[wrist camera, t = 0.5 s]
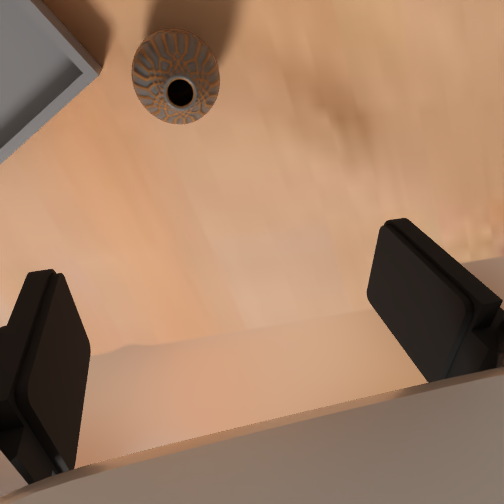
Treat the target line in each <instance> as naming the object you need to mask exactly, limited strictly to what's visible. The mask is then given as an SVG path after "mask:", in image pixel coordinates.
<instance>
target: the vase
mask: <svg viewBox="0 0 504 504" xmlns="http://www.w3.org/2000/svg"><path fill="white" fill-rule="evenodd" d="M132 81H133V86H134V89H135V92H136V94H137V96H138V98H139V100H140V102H141V103H142V105H143V106H144V107H145V108H146V109H147V110H148V111H149V112H150V113H151V114H152V115H154V116H155V117H157V118H158V119H160V120H162V121H164V122H167V123H172V124H188V123H191V122H194V121H196V120H198V119H200V118H202V117H203V116H204V115H205V114H206V113H207V112H208V111H209V110H210V109H211V108H212V106H213V105H214V103H215V101H216V98H217V96H218V92H219V86H220V74H219V69H218V65H217V62H216V59H215V57H214V55H213V54H212V52H211V50H210V49H209V47H208V46H207V45H206V44H205V43H204V42H203V41H202V40H201V39H200V38H198V37H197V36H195V35H194V34H192V33H190V32H188V31H185V30H181V29H175V28H169V29H163V30H159V31H157V32H155V33H153V34H151V35H149V36H148V37H147V38H146V39H145V40H144V41H143V42H142V43H141V44H140V46H139V47H138V49H137V51H136V53H135V56H134V59H133V63H132Z"/></svg>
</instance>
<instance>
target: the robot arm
mask: <svg viewBox="0 0 504 504" xmlns="http://www.w3.org/2000/svg"><path fill="white" fill-rule="evenodd" d="M367 297H368V300H369V302H370V304H371V305H372V306H373V308H374V309H375V310H376V312H377V313H378V315H379V316H380V317H381V319H382V320H383V321H384V323H385V324H386V325H387V327H388V328H389V330H390V331H391V332H392V334H393V335H394V336H395V338H396V339H397V340H398V342H399V343H400V345H401V346H402V347H403V349H404V350H405V351H406V353H407V354H408V356H409V357H410V358H411V360H412V361H413V362H414V364H415V365H416V366H417V368H418V369H419V371H420V372H421V373H422V374H423V376H424V377H425V379H426V380H427V381H428V382H429V383H426V384H421V385H417V386H413V387H409V388H404V389H400V390H395V391H391V392H387V393H382V394H378V395H374V396H369V397H365V398H361V399H356V400H353V401H348V402H344V403H339V404H335V405H331V406H327V407H323V408H318V409H314V410H310V411H306V412H302V413H297V414H293V415H289V416H285V417H280V418H276V419H272V420H268V421H263V422H259V423H255V424H251V425H247V426H243V427H238V428H234V429H230V430H226V431H222V432H218V433H214V434H210V435H205V436H202V437H197V438H194V439H189V440H185V441H181V442H177V443H173V444H169V445H164V446H160V447H156V448H152V449H148V450H144V451H140V452H137V453H133V454H129V455H125V456H121V457H118V458H113V459H110V460H106V461H102V462H98V463H94V464H90V465H87V466H83V467H80V468H77V469H74V466H75V461H76V454H77V447H78V440H79V432H80V425H81V417H82V411H83V403H84V396H85V389H86V382H87V375H88V368H89V361H90V343H89V340H88V337H87V335H86V332H85V329H84V327H83V324H82V321H81V319H80V316H79V314H78V311H77V308H76V306H75V303H74V301H73V298H72V295H71V293H70V290H69V287H68V285H67V282H66V280H65V277H64V275H63V274H62V273H58V274H56V272H55V271H54V270H53V269H48V270H41V271H35V272H29V273H28V274H27V276H26V279H25V281H24V284H23V286H22V289H21V291H20V294H19V296H18V299H17V301H16V304H15V306H14V309H13V311H12V314H11V316H10V319H9V321H8V324H7V326H2V327H1V328H0V504H504V310H503V309H502V308H500V305H501V303H502V299H500V298H499V297H498V296H497V295H496V294H495V293H493V292H492V291H491V290H490V289H489V288H488V287H486V286H485V285H484V284H483V283H482V282H481V281H479V280H478V279H477V278H476V277H475V276H474V275H472V274H471V273H470V272H469V271H468V270H466V269H465V268H464V267H463V266H462V265H461V264H460V263H458V262H457V261H456V260H455V259H454V258H453V257H451V256H450V255H449V254H448V253H447V252H446V251H444V250H443V249H442V248H441V247H440V246H439V245H437V244H436V243H435V242H434V241H433V240H432V239H431V238H429V237H428V236H427V235H426V234H425V233H424V232H422V231H421V230H420V229H419V228H418V227H417V226H415V225H414V224H413V223H412V222H411V221H410V220H408V219H407V218H401V219H394V220H388V221H386V222H385V224H384V226H381V228H380V230H379V235H378V240H377V244H376V249H375V254H374V259H373V264H372V269H371V273H370V278H369V283H368V288H367Z"/></svg>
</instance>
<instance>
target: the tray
mask: <svg viewBox="0 0 504 504" xmlns="http://www.w3.org/2000/svg"><path fill="white" fill-rule="evenodd" d="M102 69H103V68H102V67H101V66H100V65H99V64H98V63H97V61H96V60H95V59H94V58H93V57H92V56H91V55H90V54H89V53H88V51H87V50H86V49H85V48H84V47H83V46H82V45H81V44H80V42H79V41H78V40H77V39H76V38H75V37H74V36H73V35H72V34H71V32H70V31H69V30H68V29H67V28H66V27H65V26H64V25H63V24H62V22H61V21H60V20H59V19H58V18H57V17H56V16H55V15H54V13H53V12H52V11H51V10H50V9H49V8H48V7H47V6H46V5H45V3H44V2H43V1H42V0H0V164H1V163H2V162H4V161H5V160H6V159H7V158H8V157H9V156H10V155H11V154H12V153H14V152H15V151H16V150H17V149H18V148H19V147H20V146H21V145H22V144H23V143H25V142H26V141H27V140H28V139H29V138H30V137H31V136H32V135H33V134H35V133H36V132H37V131H38V130H39V129H40V128H41V127H42V126H43V125H44V124H46V123H47V122H48V121H49V120H50V119H51V118H52V117H53V116H54V115H56V114H57V113H58V112H59V111H60V110H61V109H62V108H63V107H64V106H65V105H67V104H68V103H69V102H70V101H71V100H72V99H73V98H74V97H75V96H77V95H78V94H79V93H80V92H81V91H82V90H83V89H84V88H85V87H86V86H88V85H89V84H90V83H91V82H92V81H93V80H94V79H95V78H96V77H98V76H99V74H100V72H101V71H102Z"/></svg>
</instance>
